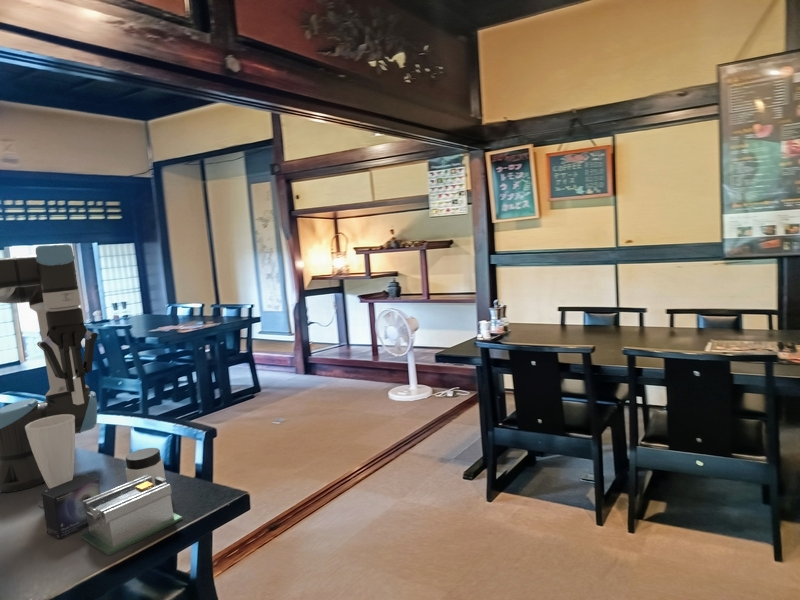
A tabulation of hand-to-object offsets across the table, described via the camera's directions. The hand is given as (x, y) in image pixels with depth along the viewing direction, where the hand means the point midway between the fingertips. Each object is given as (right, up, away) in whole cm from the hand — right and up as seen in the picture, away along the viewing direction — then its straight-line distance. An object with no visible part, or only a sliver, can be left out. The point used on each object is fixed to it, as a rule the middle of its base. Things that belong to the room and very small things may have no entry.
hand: (78, 403), depth 133 cm
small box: (+1, -29, -3) cm, 29 cm away
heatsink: (+16, -28, -6) cm, 33 cm away
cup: (-12, -28, +14) cm, 34 cm away
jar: (+13, -27, +9) cm, 31 cm away
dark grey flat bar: (+15, -22, -8) cm, 28 cm away
